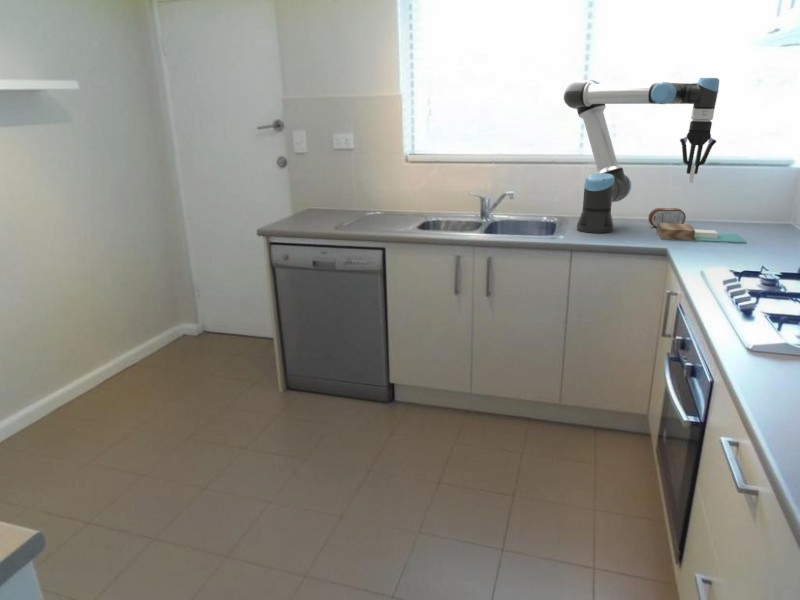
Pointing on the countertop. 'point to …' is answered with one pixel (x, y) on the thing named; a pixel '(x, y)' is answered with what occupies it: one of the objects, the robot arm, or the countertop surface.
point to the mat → (723, 238)
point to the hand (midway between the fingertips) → (690, 182)
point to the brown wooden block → (675, 231)
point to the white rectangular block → (706, 233)
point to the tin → (666, 216)
